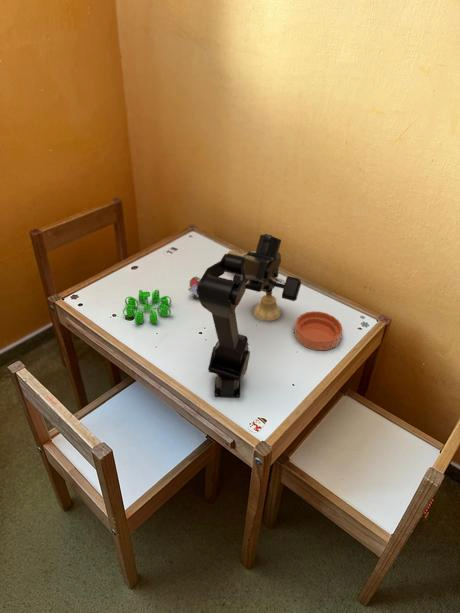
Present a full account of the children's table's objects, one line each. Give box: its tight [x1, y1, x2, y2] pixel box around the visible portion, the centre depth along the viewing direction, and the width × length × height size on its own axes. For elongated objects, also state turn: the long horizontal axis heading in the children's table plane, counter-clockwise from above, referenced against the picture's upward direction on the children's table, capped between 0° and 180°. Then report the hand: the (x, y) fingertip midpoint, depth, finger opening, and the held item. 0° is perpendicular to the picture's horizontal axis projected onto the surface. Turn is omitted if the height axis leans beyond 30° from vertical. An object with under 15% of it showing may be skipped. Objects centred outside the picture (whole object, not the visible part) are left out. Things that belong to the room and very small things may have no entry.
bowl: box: [294, 310, 343, 351], centre depth 136 cm, size 13×13×4 cm
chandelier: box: [122, 289, 172, 325], centre depth 141 cm, size 15×15×7 cm
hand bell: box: [253, 292, 282, 322], centre depth 139 cm, size 8×8×16 cm
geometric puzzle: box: [187, 276, 201, 299], centre depth 148 cm, size 7×7×8 cm
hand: (271, 287), depth 140 cm, fingers open, 9 cm apart
